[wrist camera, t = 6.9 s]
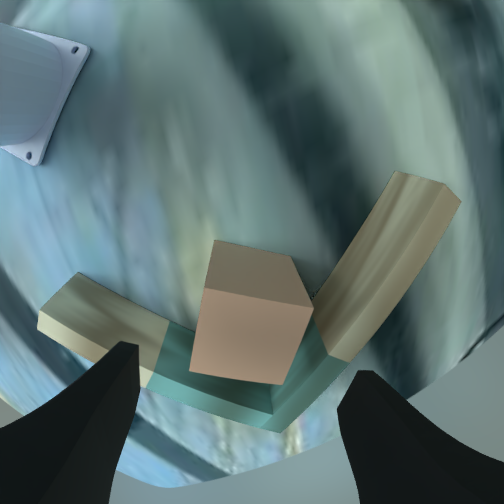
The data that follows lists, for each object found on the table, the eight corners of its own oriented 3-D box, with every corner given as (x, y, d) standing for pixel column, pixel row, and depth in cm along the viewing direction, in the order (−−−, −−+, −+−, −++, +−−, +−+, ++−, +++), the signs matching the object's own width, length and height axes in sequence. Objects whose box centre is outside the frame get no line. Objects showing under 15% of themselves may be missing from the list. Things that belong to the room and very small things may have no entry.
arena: (73, 289, 18) (37, 328, 13) (181, 44, 13) (160, 9, 8) (272, 381, 21) (280, 433, 16) (411, 184, 16) (461, 201, 12)
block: (200, 306, 19) (189, 370, 13) (214, 239, 17) (204, 287, 11) (270, 319, 19) (282, 385, 14) (290, 255, 18) (313, 308, 12)
